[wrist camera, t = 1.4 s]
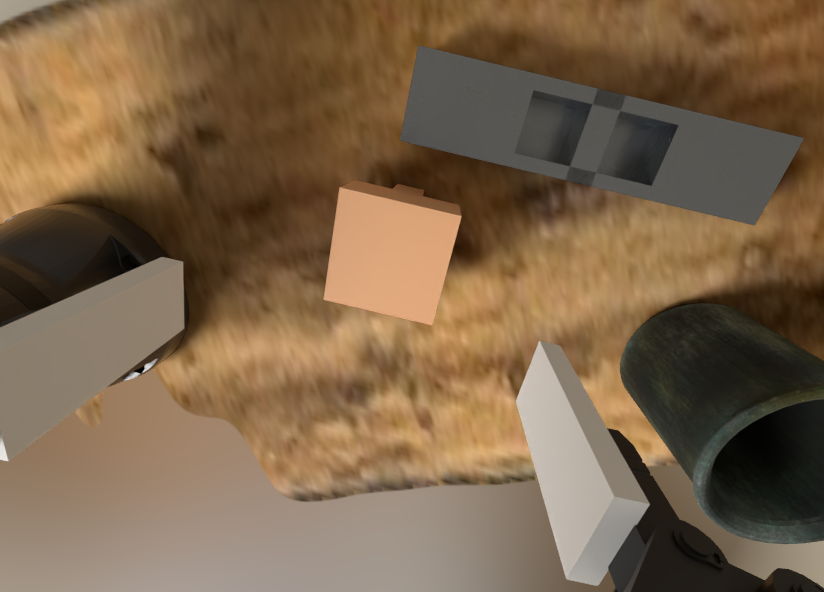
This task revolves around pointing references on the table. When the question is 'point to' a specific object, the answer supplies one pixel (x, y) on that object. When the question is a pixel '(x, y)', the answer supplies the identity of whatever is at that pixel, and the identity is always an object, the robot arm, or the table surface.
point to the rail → (594, 136)
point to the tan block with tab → (390, 250)
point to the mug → (735, 417)
